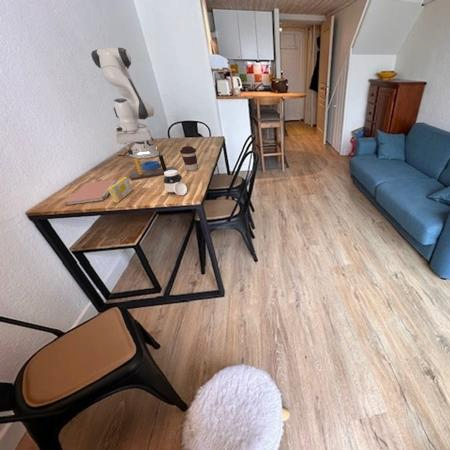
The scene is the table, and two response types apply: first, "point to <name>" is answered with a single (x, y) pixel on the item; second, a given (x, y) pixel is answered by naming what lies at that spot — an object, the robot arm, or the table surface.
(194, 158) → the coffee cup
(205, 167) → the table surface
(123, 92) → the robot arm
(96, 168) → the table surface
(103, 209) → the table surface
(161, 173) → the peg rack
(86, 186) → the notebook
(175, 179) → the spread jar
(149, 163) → the tape roll
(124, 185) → the candy box
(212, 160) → the table surface
